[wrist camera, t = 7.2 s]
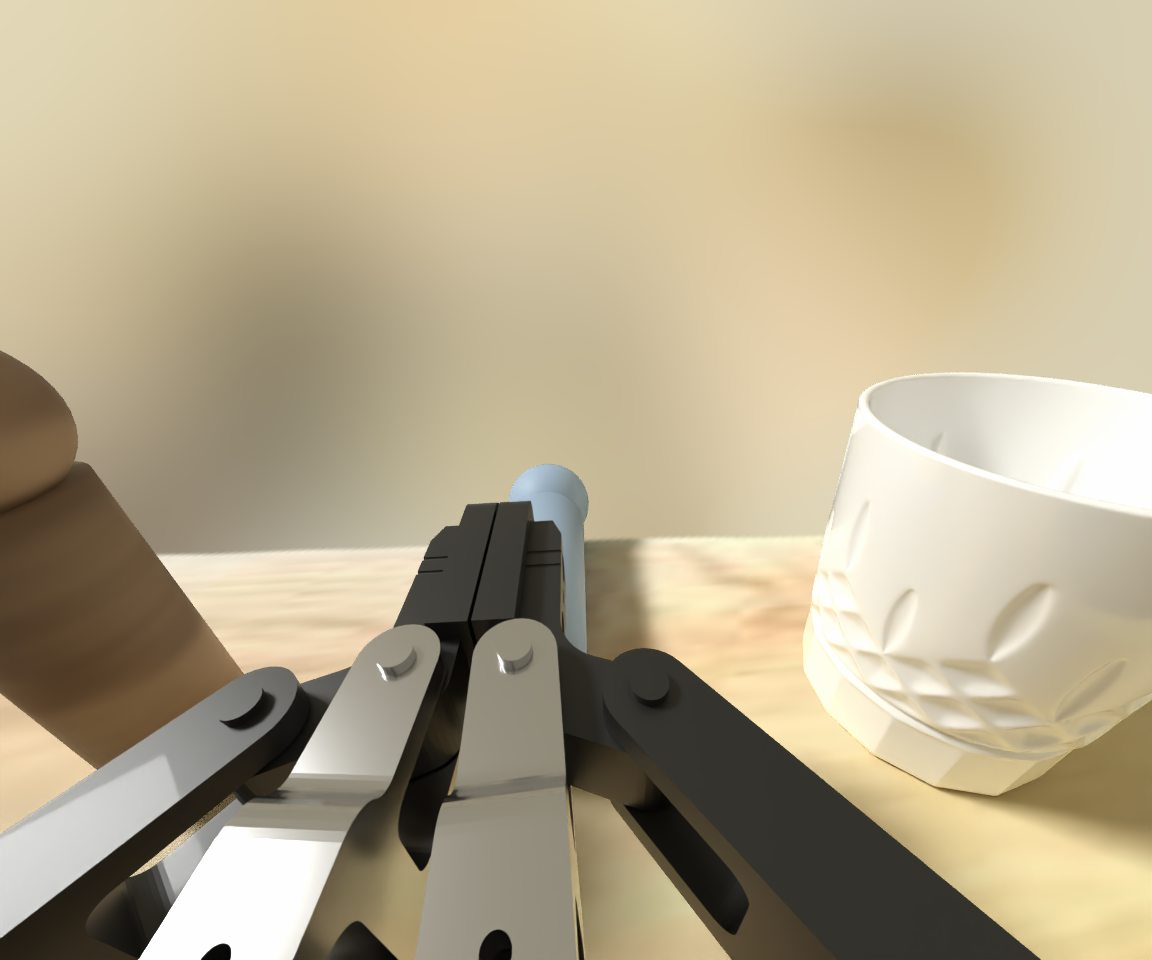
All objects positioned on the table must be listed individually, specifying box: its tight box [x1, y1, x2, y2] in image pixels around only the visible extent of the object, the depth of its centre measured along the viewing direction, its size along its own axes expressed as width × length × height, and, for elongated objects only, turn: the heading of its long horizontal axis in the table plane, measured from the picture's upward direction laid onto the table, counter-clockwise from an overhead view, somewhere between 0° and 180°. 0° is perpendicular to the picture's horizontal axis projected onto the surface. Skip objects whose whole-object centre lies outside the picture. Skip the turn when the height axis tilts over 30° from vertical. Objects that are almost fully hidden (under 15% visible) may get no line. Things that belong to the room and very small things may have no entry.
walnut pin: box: [0, 351, 244, 770], centre depth 11 cm, size 4×4×14 cm
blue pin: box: [509, 464, 589, 654], centre depth 18 cm, size 4×4×14 cm
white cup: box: [803, 372, 1152, 796], centre depth 12 cm, size 8×8×10 cm
